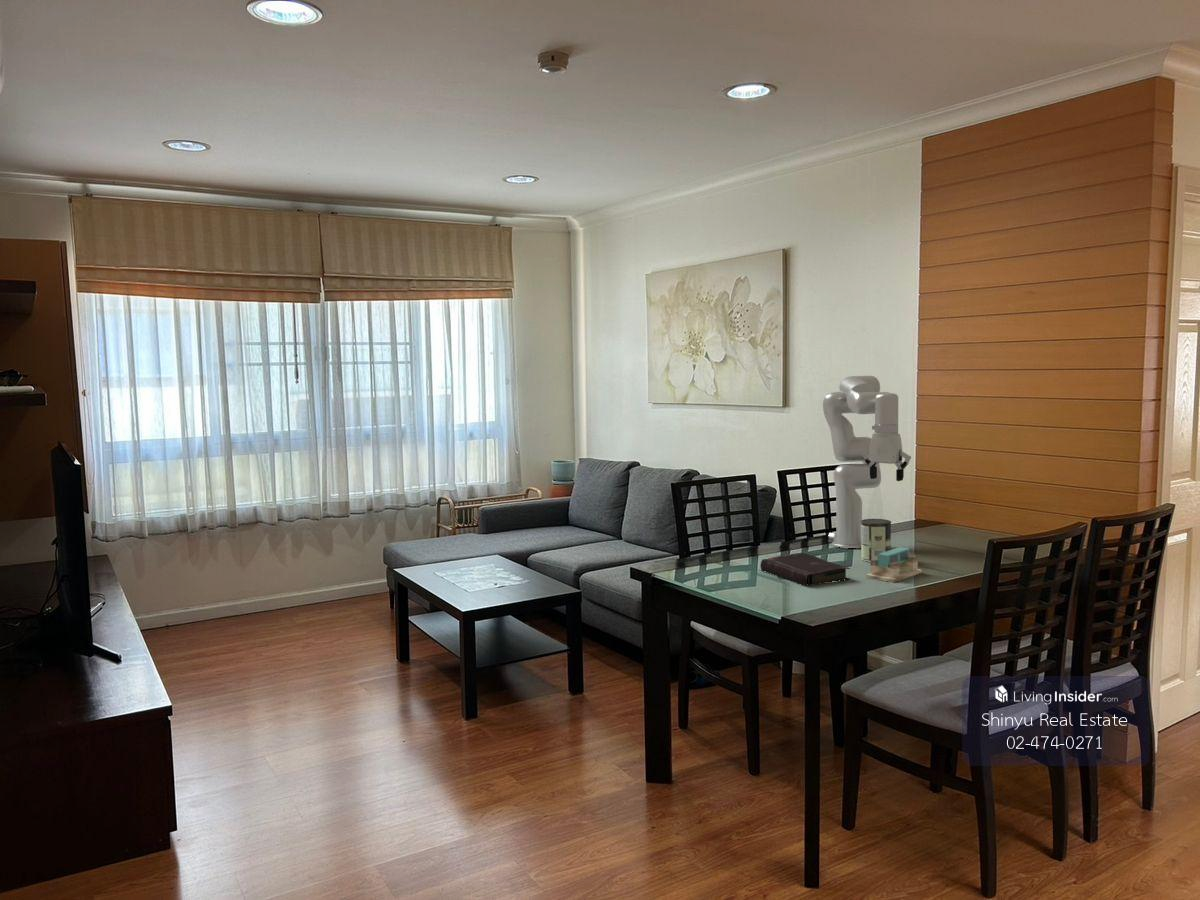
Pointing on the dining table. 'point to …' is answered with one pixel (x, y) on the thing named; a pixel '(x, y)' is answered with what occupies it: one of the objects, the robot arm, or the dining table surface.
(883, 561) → the teal rectangular block
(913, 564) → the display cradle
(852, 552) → the dining table surface
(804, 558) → the diary
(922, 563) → the dining table surface
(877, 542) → the coffee can
